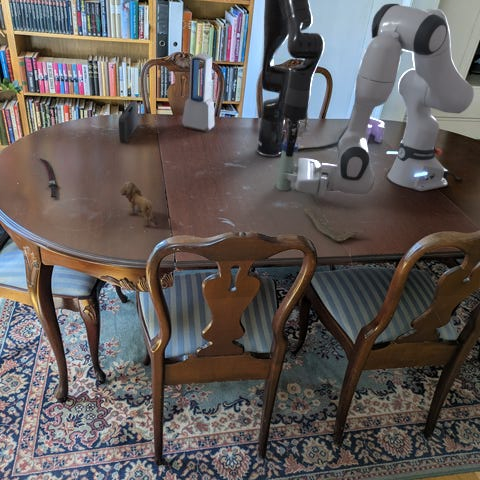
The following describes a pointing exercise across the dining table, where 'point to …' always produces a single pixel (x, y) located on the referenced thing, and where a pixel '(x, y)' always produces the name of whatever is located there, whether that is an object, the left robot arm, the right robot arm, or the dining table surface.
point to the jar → (285, 166)
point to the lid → (284, 146)
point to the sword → (52, 181)
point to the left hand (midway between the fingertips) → (288, 152)
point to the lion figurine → (137, 201)
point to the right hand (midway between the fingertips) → (283, 171)
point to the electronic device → (199, 97)
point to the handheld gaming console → (128, 121)
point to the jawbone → (331, 232)
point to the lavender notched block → (375, 129)
